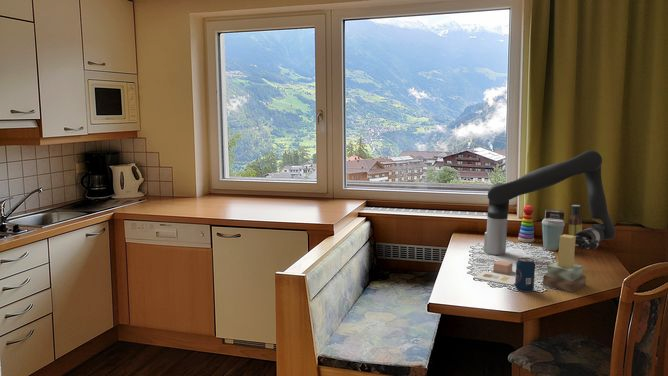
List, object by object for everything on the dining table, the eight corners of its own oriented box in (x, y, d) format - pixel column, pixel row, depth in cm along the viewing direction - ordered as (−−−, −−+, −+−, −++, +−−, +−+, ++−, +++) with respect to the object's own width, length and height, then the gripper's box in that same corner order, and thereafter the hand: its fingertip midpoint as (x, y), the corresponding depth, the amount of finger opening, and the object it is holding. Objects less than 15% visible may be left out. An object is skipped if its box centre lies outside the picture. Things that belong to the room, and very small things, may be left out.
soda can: (512, 286, 227) (513, 257, 225) (529, 286, 228) (531, 256, 226) (518, 292, 220) (520, 262, 218) (536, 292, 221) (538, 261, 219)
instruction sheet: (474, 278, 237) (474, 277, 237) (483, 271, 246) (483, 270, 246) (513, 285, 228) (513, 284, 228) (521, 278, 237) (521, 277, 237)
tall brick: (557, 265, 228) (559, 236, 226) (562, 263, 231) (564, 234, 229) (568, 268, 225) (571, 238, 223) (573, 265, 228) (575, 236, 226)
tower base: (542, 285, 229) (544, 265, 228) (555, 278, 238) (557, 259, 236) (573, 292, 221) (574, 272, 220) (585, 285, 229) (586, 265, 228)
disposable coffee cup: (540, 245, 290) (542, 216, 288) (563, 247, 286) (565, 217, 284) (539, 250, 280) (541, 220, 278) (563, 252, 276) (565, 222, 274)
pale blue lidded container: (543, 242, 297) (545, 211, 294) (542, 239, 303) (544, 209, 300) (562, 243, 294) (564, 212, 291) (561, 240, 300) (563, 210, 297)
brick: (493, 272, 246) (493, 263, 245) (498, 269, 251) (499, 260, 250) (507, 275, 242) (507, 265, 242) (512, 271, 247) (512, 262, 246)
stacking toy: (535, 243, 294) (537, 207, 291) (518, 242, 295) (521, 206, 292) (533, 239, 302) (535, 204, 299) (517, 238, 303) (519, 203, 300)
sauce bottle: (581, 243, 295) (584, 204, 292) (580, 245, 289) (584, 207, 286) (567, 241, 297) (570, 203, 294) (566, 244, 292) (569, 205, 289)
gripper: (571, 226, 246) (554, 232, 234) (605, 232, 236) (590, 239, 225) (569, 243, 247) (553, 250, 236) (604, 250, 237) (588, 257, 226)
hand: (571, 245), depth 230 cm, fingers open, 8 cm apart
